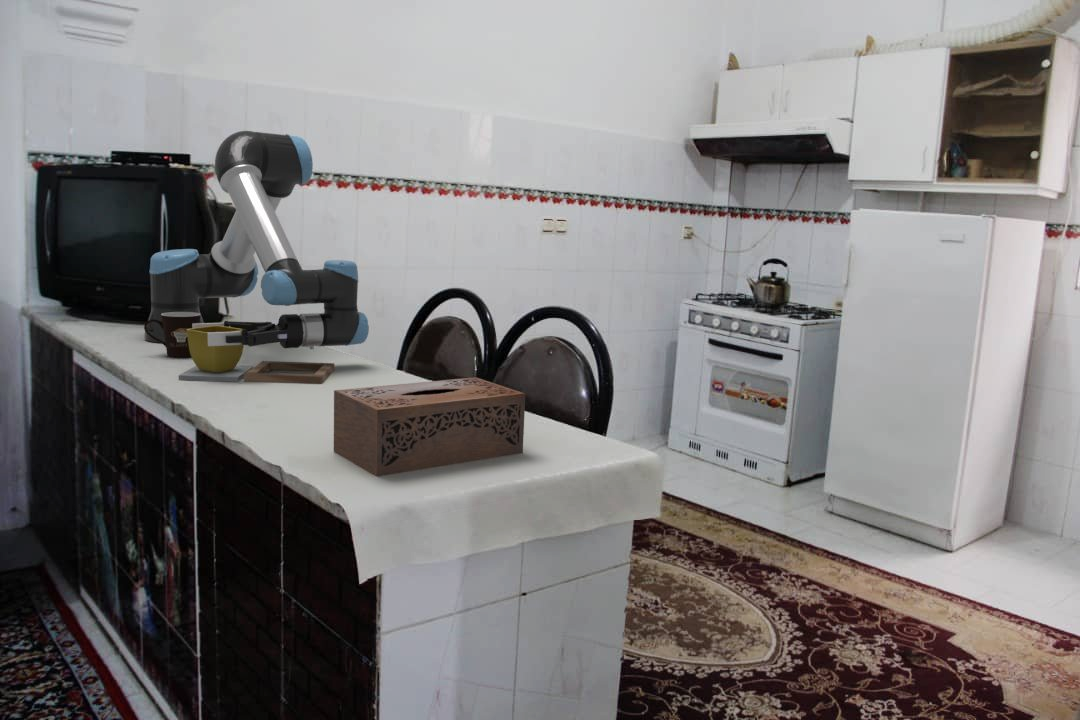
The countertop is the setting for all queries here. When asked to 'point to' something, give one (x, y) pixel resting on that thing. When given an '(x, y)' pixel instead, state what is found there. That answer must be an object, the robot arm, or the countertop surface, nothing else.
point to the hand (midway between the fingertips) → (200, 334)
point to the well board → (260, 374)
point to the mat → (215, 374)
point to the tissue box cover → (427, 424)
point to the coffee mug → (176, 332)
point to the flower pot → (213, 350)
